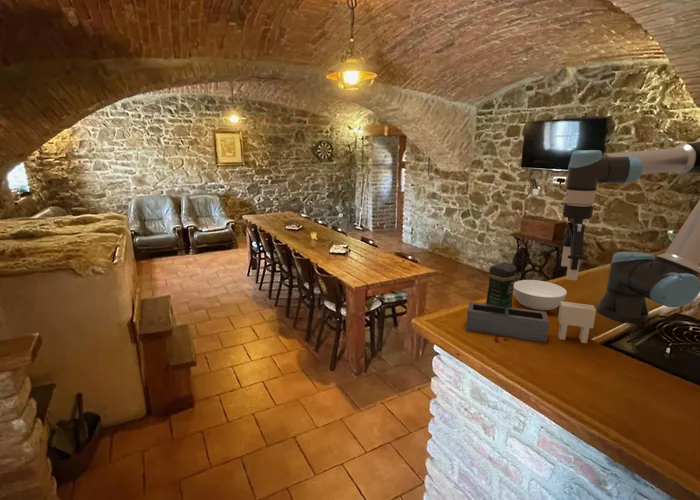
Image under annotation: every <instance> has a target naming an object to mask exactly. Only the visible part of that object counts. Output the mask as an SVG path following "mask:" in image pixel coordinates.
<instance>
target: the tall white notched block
mask: <svg viewBox="0 0 700 500" xmlns="http://www.w3.org/2000/svg"><path fill="white" fill-rule="evenodd" d="M596 314H597V309H596V307H595V306H594V304H585V303H579V302H571V301H560V305H559V308H558V315H557V321H558V323H559V327H558V328H559V329H558V332H557V333H558V334H557V336H558V339H559V340H562V341H566V338H567V331H568V326H572V327H573V326H575V327H580V331H579V337H578V339H579V341H580V343H582V344H588V340H589V336H590V335H589V334H590V329H594V324H595V319H596Z"/></svg>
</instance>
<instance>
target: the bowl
mask: <svg viewBox="0 0 700 500" xmlns="http://www.w3.org/2000/svg"><path fill="white" fill-rule="evenodd" d="M567 294H568V293H567V290H566V289H565V288H564V287H563V286H560V285H559V284H556V283H553V282H548V281H544V280H537V279H536V280H535V279H523V280H517V281H514V288H513V295H515V298H516V300H517V301H518V302H519V304H520V305H523V306H524V307H527V308H528V309H529V308H530V309H531V310H535V311H550V310H555V309H556V308H558V307H560V301H563V302H565V299H566V296H567Z"/></svg>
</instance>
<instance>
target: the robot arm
mask: <svg viewBox="0 0 700 500" xmlns="http://www.w3.org/2000/svg"><path fill="white" fill-rule="evenodd" d="M567 171H568V175H567V183H566V190H565V191H566V192H563V195H562V196H565V197H564V202H565V204H564V205H563V209H562V216H563V218H567V224H566V228H565V232H564V237H563V247H562V248H563V249H562V256H561V261H560V262H561V263H560V266H561V267H566V268H567V272H566V278H565V279H566V280H568V281H570V280H571V281H578V276H579V271H580V269H579V268H580V264H581V260H582V259H583V258H584V257H583V255H584V254H583V251H584V237H585V228H586V225H585V224H584V223H583V220H590V219H592V218H593V211H594V206H593V205H594V204H595V200H596V194H597V187H598V185H599V184H623V185H624V184H629V183H634V182H637V181H638V180H639V179H640V178H641V177H642V175H649V174H650V175H651V174H660V173H661V174H662V173H671V172H673V173H675V174H677V175H685V174H687V175H688V174H691V175H692V174H693V175H700V141H695V142H694V141H693V142H688V143H679V144H678V145H675V146H674V147H670V148H660V149H659V148H657V149H650V150H649V149H647V150H635V151H627V152H616V153H615V152H613V153H606V154H603V151H601V150H598V149H597V150H595V149H589V150H588V149H587V150H586V149H585V150H582V149H581V150H580V149H579V150H574V151H573V152H572V153H571V156H570V160H569V163H568V166H567ZM692 209H693V210H692V211H691V212H690V214H689V215H688V217H687V218H686V220H685V221H684V223H683V224H682V226H681V227H680V229H679V230H678V232H677V234H676V236H675V237H674V239H672V242H671V243H670V244H669V246H668V248H667V249H666V251H665V252H664V253H660V254H657V255H656V256H655V255H654V254H653V253H647V252H640V251H619V252H615V253H614V254H613V255H612V259H611V261H610V267H609V273H608V278H607V283H606V284H607V287H606V291H605V292H604V294H602V297H601V298H600V300H599V301H598V303H597V309H596V311H597V312H598V313H599V314H600V315H602V316H603V317H604V316H605V317H607V318H610V319H612V320H614V321H620V322H624V323H633V324H640V323H645V322H648V320H649V315H650V314H649V307H648V302H647V299H649V300H651V301H653V302H654V303H656V304H659V305H662V306H664V307H667V308H679V307H682V306H686V305H688V304H690V303H692V302H693V301H694V300H695V299H696V298H697V297H698V296H699V295H700V279H699V275H700V268H699V265H700V199H699V200H698V202H697V203H696V205H695V206H694V208H692Z"/></svg>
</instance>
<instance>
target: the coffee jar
mask: <svg viewBox="0 0 700 500" xmlns="http://www.w3.org/2000/svg"><path fill="white" fill-rule="evenodd" d="M488 276H489V277H488V278H489V279H488V287H487V295H486V302H485V304H489V305H497V306H504V307H512V308H513V298H514V297H513V296H514V289H513V288H514V283H515V282H516V281H515V280H516V276H517V267H516V265H515V264H513V263H510V262H505V261H502V262H499V263H497V264H494V265H491V266H490V267H489V273H488Z"/></svg>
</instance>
